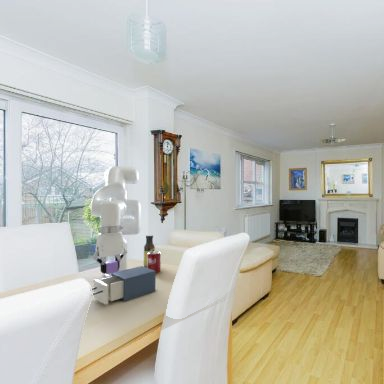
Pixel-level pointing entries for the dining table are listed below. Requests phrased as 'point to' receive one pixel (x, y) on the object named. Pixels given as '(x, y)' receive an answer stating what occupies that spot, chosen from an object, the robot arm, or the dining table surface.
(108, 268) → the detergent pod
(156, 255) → the soda can
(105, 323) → the dining table surface
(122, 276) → the blue-grey drawer housing
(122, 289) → the white drawer
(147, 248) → the sauce bottle
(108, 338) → the dining table surface
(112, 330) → the dining table surface
